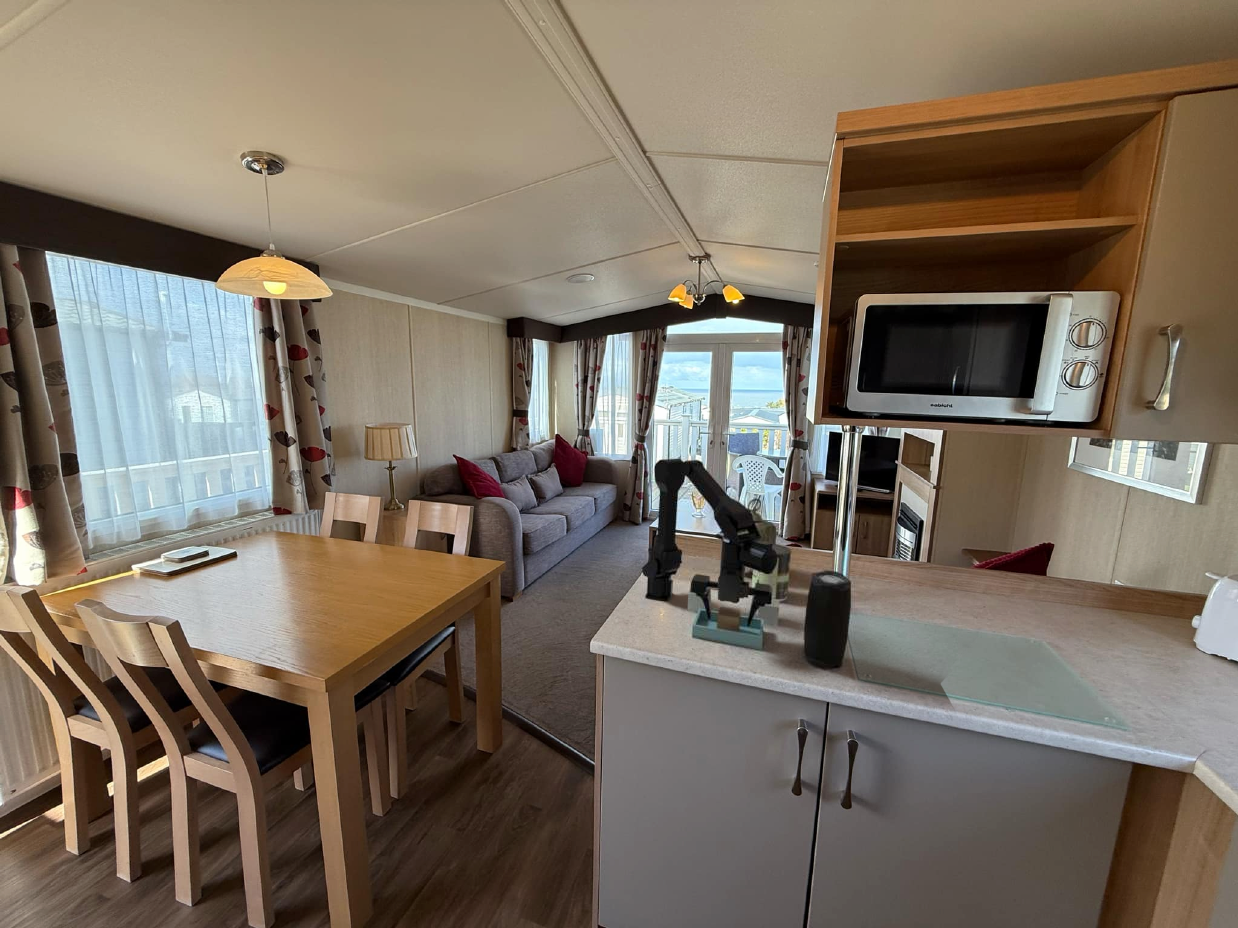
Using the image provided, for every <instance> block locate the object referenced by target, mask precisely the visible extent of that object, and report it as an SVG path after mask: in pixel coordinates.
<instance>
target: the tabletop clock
mask: <svg viewBox="0 0 1238 928" xmlns="http://www.w3.org/2000/svg"><path fill="white" fill-rule="evenodd" d="M755 501H756V502H758V503H759V505H758V507H756V506H753V507H752V509H750V506H751V504H752V503H753V502H755ZM761 506H762V501H761V500H760V499H759V498H753V499H751V500H750V501H749V502H748V503H747V509H748V510H749V511H750V512H751V513H752V515H753V520H754V522H755V525H756V527H757V529H758V531H759V533H760V535H761V539H758V540H760V541H763V542H769V543H772V544H777V526H776V525H775V524H774V523H773V522H771V521H767V520H765V519H763V518H762V516H761V514H760V513H758V512H757V511H759V510H760V508H761ZM746 533H748V531H745V532H741V533H737V534H738V535H741V534H746ZM745 568H748V569H750V568H749V567H746V566H745Z"/></svg>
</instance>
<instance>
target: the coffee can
mask: <svg viewBox="0 0 1238 928" xmlns="http://www.w3.org/2000/svg"><path fill="white" fill-rule="evenodd" d="M772 549H773V550H775V552H776V554H777V557H778V560H777V565H776V567H775V569H774V570H773V571H772V572H771V573H770V574H764V573H761V572H759V571H756V570H754V569H752V578H751V579H752V580H751V587H754V588H755V583H761V584H768V585H771V587H772V599H778V600H779V603H780V602H783V601H786V600H787V599H788V592H789V579H790V578H789V577H790V569H791V567H790V566H791V554H792V549H791V548H790V547H788V546H785V545H781V544H777V543H776V544H773V547H772Z"/></svg>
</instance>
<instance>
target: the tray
mask: <svg viewBox="0 0 1238 928" xmlns="http://www.w3.org/2000/svg"><path fill="white" fill-rule="evenodd" d="M718 612H719V611H715V610H711V619H710V620H709V619H708V616H707V612H706V610H704V609H699V610H698V612H696V615H695V618H694V621H693V623H692V630H691V631H692V632H691V637H692V638H694V639H700V640H705V641H706V640H707V641H710V642H717V643H721V642H722V643H723V644H726V645H727V644H728V645H732V646H738V647H743V648H748V649H755V650H760V651H762V649H763V637H764V636H763V635H764V619H758V617H753V619H752V621H751V623H750V626H747V625H748V616H746V615H740V628H739V632H735V631H729V630H723V629H718V628H717V617H718ZM722 643H721V644H722Z"/></svg>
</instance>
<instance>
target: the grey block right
mask: <svg viewBox="0 0 1238 928" xmlns="http://www.w3.org/2000/svg"><path fill="white" fill-rule="evenodd" d="M779 613H780V602H779V600H778V599H772V602H771V604H770V605H768V604H765V606H764V607H762V606H761V607H759V608H758V610H757V618H758V619H764V624H765V625H770V626H775V627H778V626H779ZM764 624H763V625H764Z"/></svg>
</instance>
